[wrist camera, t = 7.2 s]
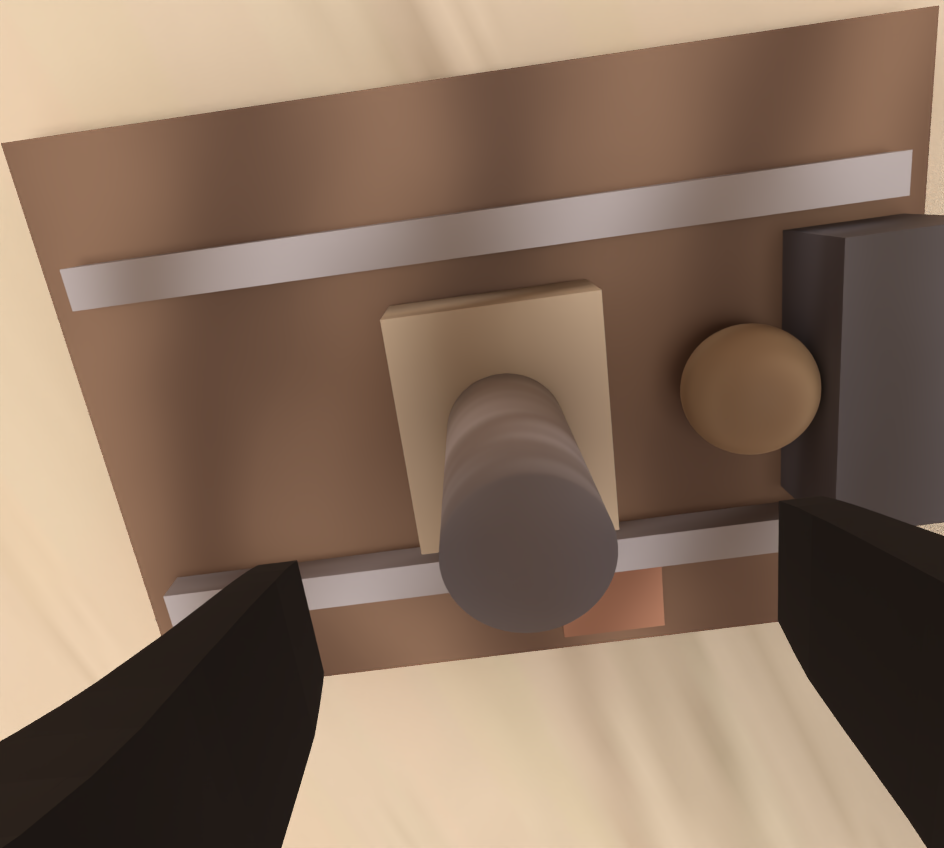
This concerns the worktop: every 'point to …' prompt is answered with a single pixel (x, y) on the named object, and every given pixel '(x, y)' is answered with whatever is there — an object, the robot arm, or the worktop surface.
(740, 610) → the board
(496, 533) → the press ram
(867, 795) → the worktop surface
